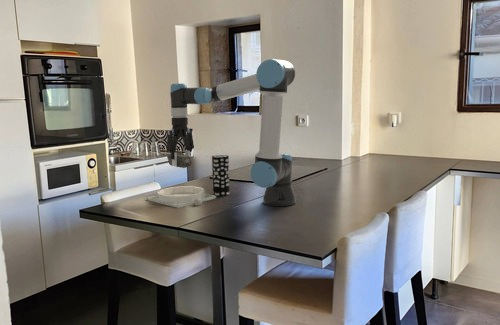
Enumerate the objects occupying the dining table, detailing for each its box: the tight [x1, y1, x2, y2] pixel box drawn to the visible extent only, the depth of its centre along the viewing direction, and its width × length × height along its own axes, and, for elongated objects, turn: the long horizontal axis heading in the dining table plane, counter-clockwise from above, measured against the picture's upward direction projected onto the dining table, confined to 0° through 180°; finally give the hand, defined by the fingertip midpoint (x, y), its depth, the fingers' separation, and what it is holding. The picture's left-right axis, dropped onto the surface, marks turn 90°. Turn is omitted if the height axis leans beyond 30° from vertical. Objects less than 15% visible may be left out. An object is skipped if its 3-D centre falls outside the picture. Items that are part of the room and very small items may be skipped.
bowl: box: [156, 185, 206, 205], centre depth 222 cm, size 22×22×4 cm
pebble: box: [193, 199, 203, 207], centre depth 210 cm, size 4×4×4 cm
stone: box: [166, 152, 192, 169], centre depth 219 cm, size 14×7×10 cm, turn 53°
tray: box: [146, 193, 217, 209], centre depth 222 cm, size 24×23×2 cm
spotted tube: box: [211, 154, 231, 197], centre depth 229 cm, size 8×8×20 cm
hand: (181, 165), depth 218 cm, fingers closed on stone, 7 cm apart
